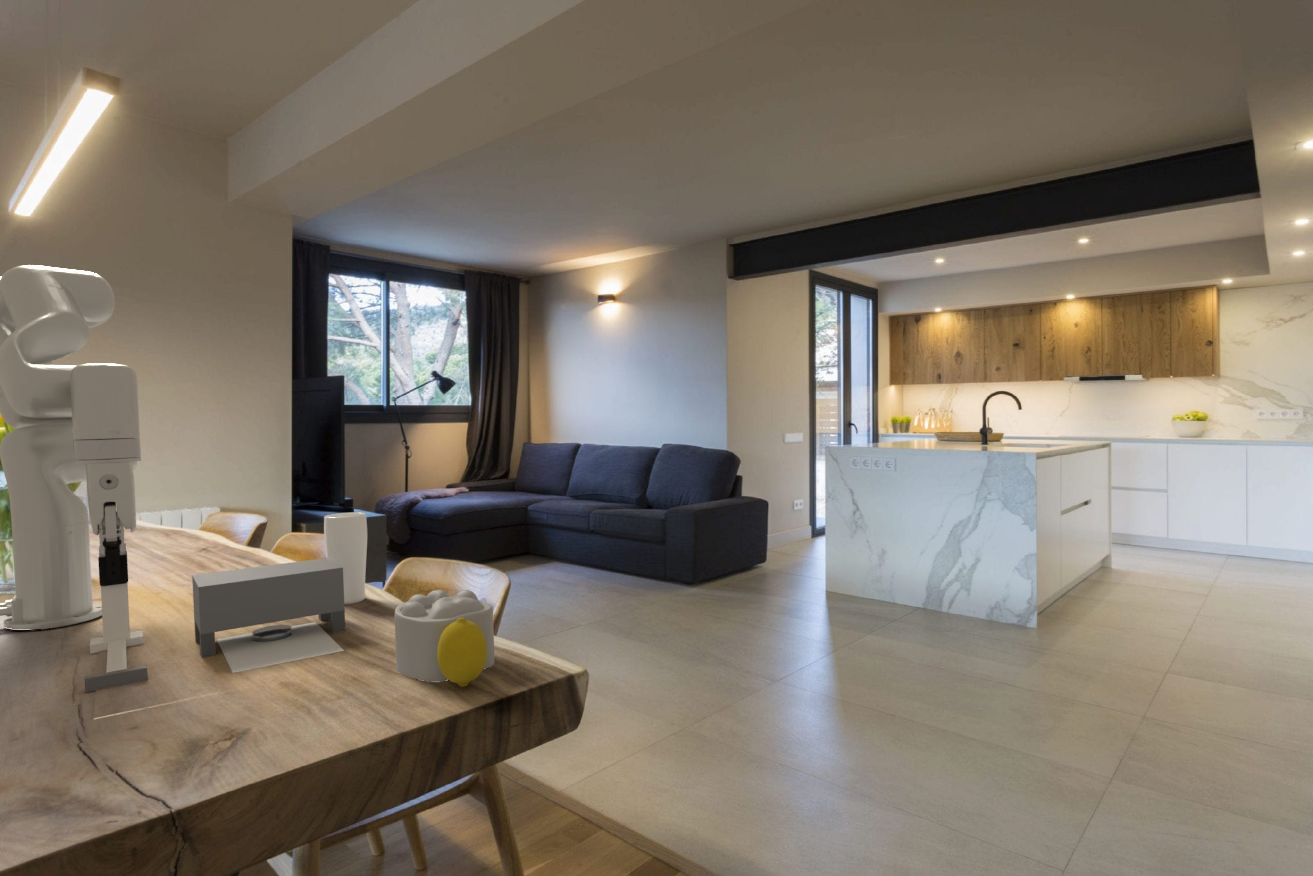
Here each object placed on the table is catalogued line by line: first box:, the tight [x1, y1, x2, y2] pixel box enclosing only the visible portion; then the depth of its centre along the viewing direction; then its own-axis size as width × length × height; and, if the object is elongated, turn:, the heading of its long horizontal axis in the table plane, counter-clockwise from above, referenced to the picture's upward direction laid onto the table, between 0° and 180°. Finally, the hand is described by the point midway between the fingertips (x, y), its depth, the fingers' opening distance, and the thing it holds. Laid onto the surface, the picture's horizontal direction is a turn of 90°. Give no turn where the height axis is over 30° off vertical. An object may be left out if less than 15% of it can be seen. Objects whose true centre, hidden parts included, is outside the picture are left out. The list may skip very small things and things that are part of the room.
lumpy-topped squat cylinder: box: [393, 589, 496, 681], centre depth 92 cm, size 10×13×9 cm
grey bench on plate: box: [192, 557, 346, 658], centre depth 106 cm, size 18×10×10 cm, turn 126°
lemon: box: [437, 618, 487, 688], centre depth 84 cm, size 6×6×8 cm
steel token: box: [251, 624, 292, 642], centre depth 105 cm, size 5×5×1 cm
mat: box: [216, 622, 345, 674], centre depth 101 cm, size 13×18×1 cm
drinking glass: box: [323, 511, 368, 605], centre depth 125 cm, size 7×7×15 cm
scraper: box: [83, 542, 149, 694], centre depth 96 cm, size 6×23×14 cm, turn 36°
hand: (114, 581), depth 103 cm, fingers closed on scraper, 3 cm apart
